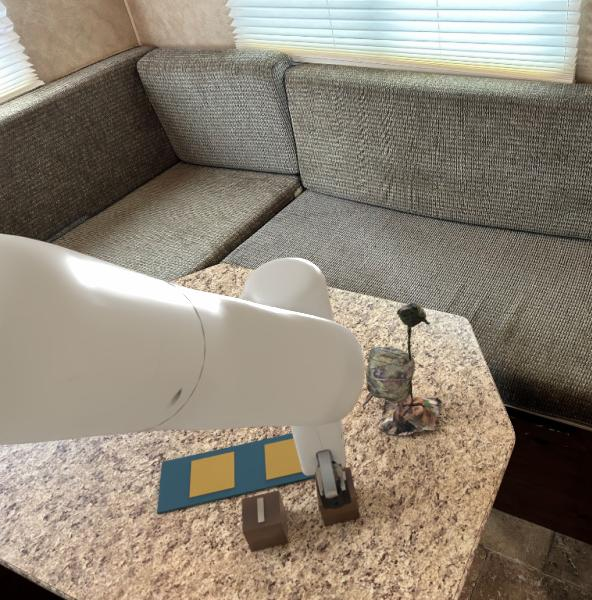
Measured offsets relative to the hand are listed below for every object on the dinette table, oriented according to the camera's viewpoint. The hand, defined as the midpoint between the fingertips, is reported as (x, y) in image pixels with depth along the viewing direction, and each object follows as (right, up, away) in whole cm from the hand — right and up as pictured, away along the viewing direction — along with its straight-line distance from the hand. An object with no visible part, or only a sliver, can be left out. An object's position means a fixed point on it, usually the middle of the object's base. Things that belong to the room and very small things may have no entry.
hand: (331, 468), depth 72 cm
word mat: (-12, -3, +10) cm, 16 cm away
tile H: (0, -6, +5) cm, 8 cm away
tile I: (-8, -9, +3) cm, 12 cm away
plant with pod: (+9, +3, +15) cm, 18 cm away
